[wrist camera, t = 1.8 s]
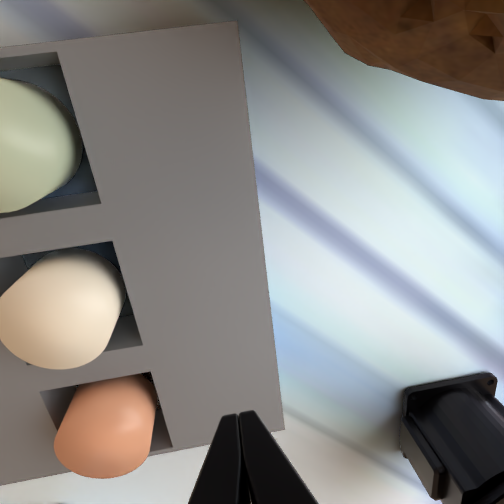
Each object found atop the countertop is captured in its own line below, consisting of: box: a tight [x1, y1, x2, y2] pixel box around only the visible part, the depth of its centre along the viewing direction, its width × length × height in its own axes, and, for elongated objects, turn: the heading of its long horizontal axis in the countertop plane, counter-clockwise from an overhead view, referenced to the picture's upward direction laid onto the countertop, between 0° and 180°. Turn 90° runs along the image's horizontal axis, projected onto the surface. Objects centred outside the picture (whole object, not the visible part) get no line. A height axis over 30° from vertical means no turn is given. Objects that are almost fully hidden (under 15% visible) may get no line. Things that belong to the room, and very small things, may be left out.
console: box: [0, 21, 285, 486], centre depth 17 cm, size 18×20×3 cm
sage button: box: [0, 78, 82, 213], centre depth 13 cm, size 4×4×3 cm
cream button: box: [0, 248, 126, 369], centre depth 16 cm, size 4×4×3 cm
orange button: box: [54, 374, 157, 479], centre depth 19 cm, size 4×4×3 cm
